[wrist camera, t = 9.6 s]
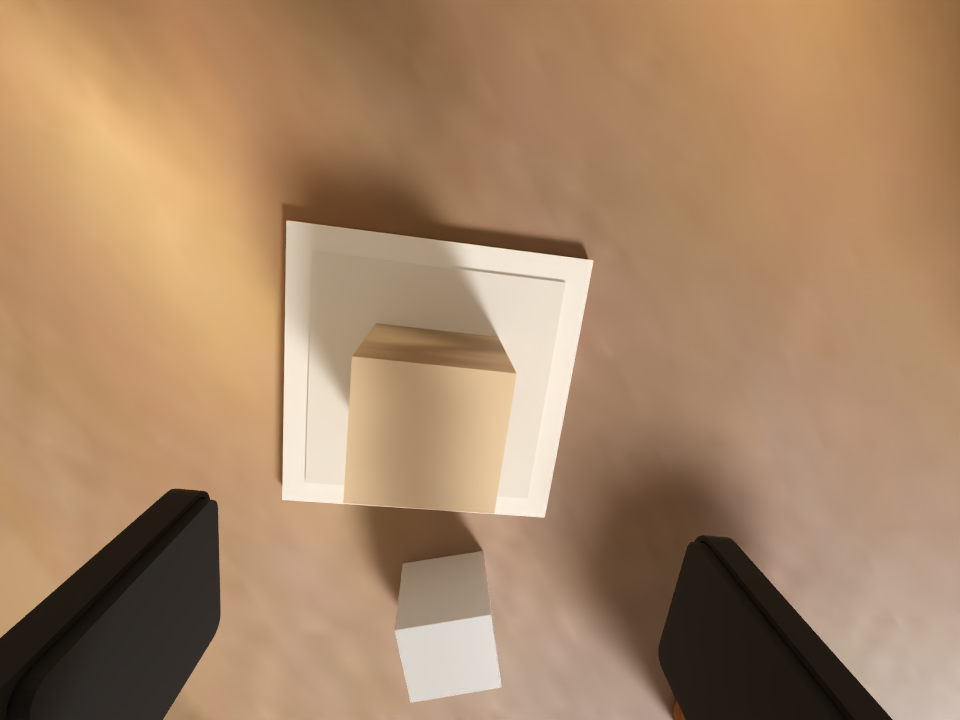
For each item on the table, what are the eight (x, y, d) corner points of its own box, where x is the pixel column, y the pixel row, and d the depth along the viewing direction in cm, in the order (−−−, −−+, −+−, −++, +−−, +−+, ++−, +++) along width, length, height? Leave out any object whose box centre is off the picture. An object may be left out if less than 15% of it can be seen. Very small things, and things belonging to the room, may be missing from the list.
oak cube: (498, 336, 19) (516, 373, 14) (482, 446, 20) (494, 513, 15) (376, 323, 18) (351, 356, 14) (368, 436, 20) (343, 503, 15)
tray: (588, 259, 19) (594, 260, 18) (542, 510, 22) (545, 518, 21) (291, 220, 18) (285, 220, 17) (286, 492, 21) (281, 500, 20)
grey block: (483, 549, 23) (491, 614, 19) (492, 613, 24) (501, 687, 20) (402, 562, 23) (394, 630, 19) (416, 626, 24) (410, 702, 20)
